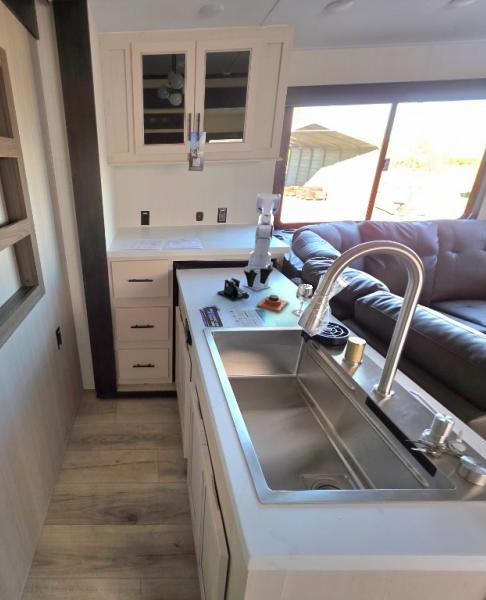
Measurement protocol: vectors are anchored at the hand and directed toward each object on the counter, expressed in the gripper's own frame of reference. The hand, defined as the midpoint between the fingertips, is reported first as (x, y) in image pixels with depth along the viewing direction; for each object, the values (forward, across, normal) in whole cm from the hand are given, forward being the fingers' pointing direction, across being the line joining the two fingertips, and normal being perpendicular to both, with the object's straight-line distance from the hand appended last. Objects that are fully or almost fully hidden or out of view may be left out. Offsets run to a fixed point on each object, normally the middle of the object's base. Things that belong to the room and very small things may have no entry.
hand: (256, 285), depth 135 cm
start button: (+6, +6, -6) cm, 10 cm away
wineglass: (+9, +8, -17) cm, 21 cm away
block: (+9, +6, -6) cm, 12 cm away
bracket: (+9, -3, +11) cm, 14 cm away
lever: (+5, -3, +7) cm, 10 cm away
